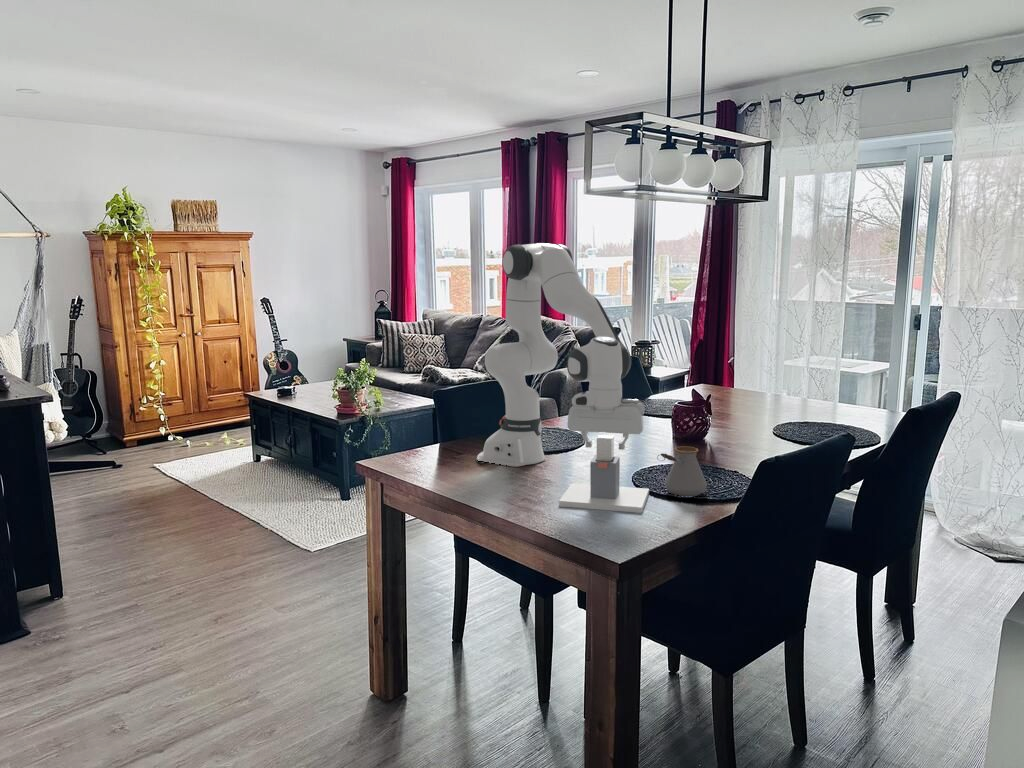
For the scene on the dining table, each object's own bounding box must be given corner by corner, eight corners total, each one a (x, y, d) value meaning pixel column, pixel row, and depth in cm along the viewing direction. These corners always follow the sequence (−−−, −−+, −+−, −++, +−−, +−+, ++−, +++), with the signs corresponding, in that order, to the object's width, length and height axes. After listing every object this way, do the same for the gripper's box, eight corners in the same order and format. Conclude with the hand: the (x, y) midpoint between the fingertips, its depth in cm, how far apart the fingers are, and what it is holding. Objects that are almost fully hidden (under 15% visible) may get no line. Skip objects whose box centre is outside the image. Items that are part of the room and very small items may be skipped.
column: (596, 496, 199) (596, 438, 196) (599, 491, 203) (599, 435, 200) (611, 497, 198) (611, 439, 195) (613, 492, 202) (614, 436, 199)
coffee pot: (675, 484, 213) (676, 434, 210) (713, 492, 206) (714, 440, 203) (640, 505, 196) (640, 450, 194) (679, 513, 189) (681, 457, 186)
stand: (559, 506, 196) (558, 464, 194) (571, 488, 211) (571, 449, 209) (641, 513, 190) (642, 470, 188) (648, 493, 205) (649, 454, 203)
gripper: (646, 397, 196) (645, 447, 198) (571, 394, 202) (571, 443, 204) (643, 401, 190) (642, 453, 192) (565, 398, 196) (566, 448, 198)
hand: (605, 448), depth 198 cm, fingers open, 8 cm apart
